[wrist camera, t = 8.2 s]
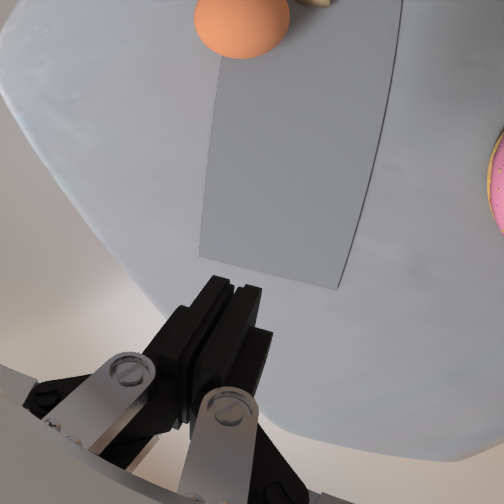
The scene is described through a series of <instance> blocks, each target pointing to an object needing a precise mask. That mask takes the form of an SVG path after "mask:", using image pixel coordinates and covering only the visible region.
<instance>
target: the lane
mask: <svg viewBox="0 0 504 504" xmlns="http://www.w3.org/2000/svg"><path fill="white" fill-rule="evenodd" d="M286 1H287V3H288V7H289V11H290V22H289V27H288V30H287V32H286V34H285V36H284V38H283V39H282V40H281V42H280V43H279V44H278V45H277V46H276V47H275V48H273V49H272V50H270V51H269V52H267V53H265V54H263V55H260V56H258V57H254V58H248V59H235V58H229V57H226V56H222V58H221V64H220V71H219V78H218V84H217V92H216V99H215V106H214V114H213V121H212V129H211V137H210V146H209V154H208V163H207V173H206V182H205V192H204V202H203V213H202V224H201V236H200V248H199V257H203V258H207V259H211V260H215V261H219V262H222V263H226V264H230V265H234V266H238V267H242V268H246V269H250V270H254V271H258V272H262V273H266V274H271V275H275V276H279V277H283V278H287V279H291V280H295V281H299V282H303V283H307V284H312V285H316V286H320V287H324V288H328V289H332V290H337V287H338V284H339V281H340V278H341V275H342V272H343V269H344V265H345V262H346V259H347V256H348V253H349V249H350V246H351V243H352V239H353V236H354V233H355V229H356V226H357V222H358V219H359V215H360V212H361V208H362V204H363V201H364V197H365V193H366V190H367V186H368V182H369V178H370V174H371V170H372V166H373V162H374V157H375V153H376V149H377V145H378V140H379V136H380V131H381V126H382V122H383V117H384V112H385V107H386V102H387V97H388V91H389V86H390V80H391V74H392V68H393V62H394V56H395V49H396V42H397V35H398V28H399V19H400V11H401V1H402V0H331V1H330V6H329V7H327V8H322V7H316V6H310V5H303V4H299V3H297V2H296V1H295V0H286Z"/></svg>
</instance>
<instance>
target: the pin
mask: <svg viewBox="0 0 504 504" xmlns="http://www.w3.org/2000/svg"><path fill="white" fill-rule="evenodd" d="M295 1H296V2H297V3H299V4H303V5H310V6H316V7H322V8H327V7H329V6H330V1H331V0H295Z"/></svg>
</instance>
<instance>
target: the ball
mask: <svg viewBox="0 0 504 504" xmlns="http://www.w3.org/2000/svg"><path fill="white" fill-rule="evenodd" d="M289 22H290V11H289V7H288V3H287V1H286V0H198V2H197V4H196V8H195V12H194V24H195V28H196V31H197V33H198V35H199V37H200V38H201V40H202V41H203V42H204V44H205V45H206V46H207V47H209V48H210V49H211V50H213V51H214V52H216V53H218V54H220V55H222V56H226V57H229V58H235V59H248V58H254V57H258V56H260V55H263V54H265V53H267V52H269V51H270V50H272V49H273V48H275V47H276V46H277V45H278V44H279V43H280V42H281V40H282V39H283V38H284V36H285V34H286V32H287V30H288V27H289Z"/></svg>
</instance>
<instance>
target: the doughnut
mask: <svg viewBox="0 0 504 504" xmlns="http://www.w3.org/2000/svg"><path fill="white" fill-rule="evenodd" d="M487 195H488V201H489V206H490V209H491V212H492V215H493V217H494V220H495V222H496V223H497V225H498V227H499V229H500V231H501V232H502V234H503V235H504V132H503V133H502V134H501V136H500V137H499V139H498V140H497V142H496V144H495V146H494V148H493V151H492V154H491V157H490V161H489V165H488V171H487Z"/></svg>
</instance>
